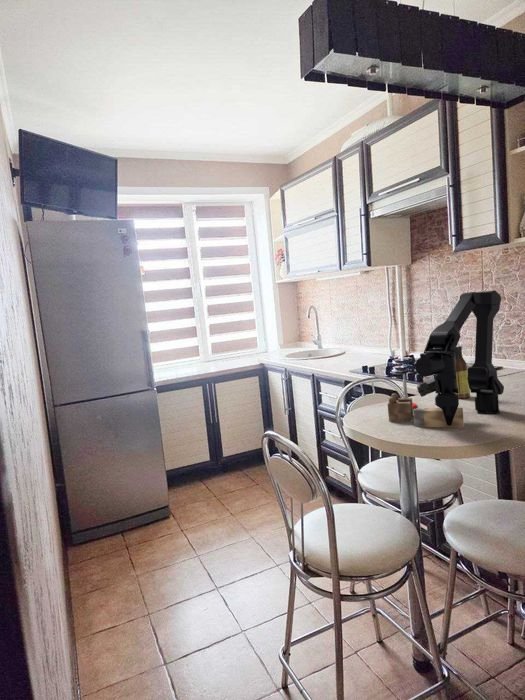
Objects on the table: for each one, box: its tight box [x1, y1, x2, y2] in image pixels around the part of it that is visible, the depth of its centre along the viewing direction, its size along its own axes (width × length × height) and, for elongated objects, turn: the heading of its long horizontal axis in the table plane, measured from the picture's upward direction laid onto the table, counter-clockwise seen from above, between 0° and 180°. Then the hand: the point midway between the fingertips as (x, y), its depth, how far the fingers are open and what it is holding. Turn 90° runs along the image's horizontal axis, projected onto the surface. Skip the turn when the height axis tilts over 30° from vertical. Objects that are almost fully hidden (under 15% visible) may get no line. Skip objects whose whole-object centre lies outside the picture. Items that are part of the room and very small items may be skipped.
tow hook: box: [402, 373, 418, 410], centre depth 161 cm, size 8×13×9 cm
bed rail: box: [413, 407, 465, 428], centre depth 134 cm, size 14×4×5 cm, turn 66°
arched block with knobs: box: [387, 392, 414, 422], centre depth 146 cm, size 7×8×8 cm
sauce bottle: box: [454, 345, 471, 399], centre depth 166 cm, size 6×6×20 cm
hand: (449, 421), depth 133 cm, fingers open, 8 cm apart
